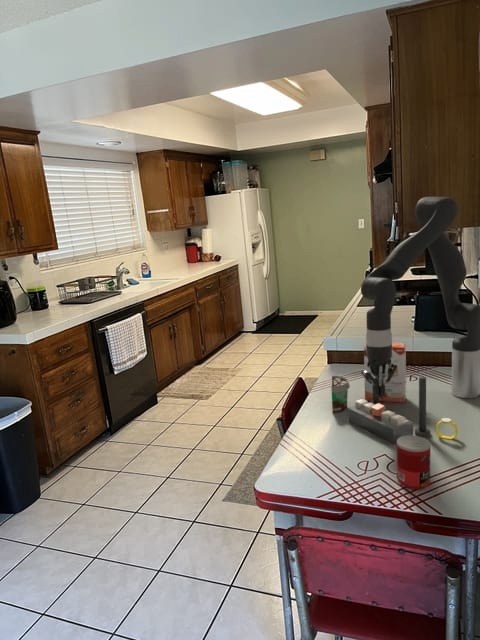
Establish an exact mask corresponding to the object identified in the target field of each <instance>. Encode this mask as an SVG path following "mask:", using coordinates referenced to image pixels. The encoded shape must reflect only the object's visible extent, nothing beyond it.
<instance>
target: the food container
mask: <svg viewBox="0 0 480 640" xmlns="http://www.w3.org/2000/svg"><path fill="white" fill-rule="evenodd" d="M350 386H351V385H350V383H349V380H348V379H347V378H346V377H343V376H339V375H331V386H330V388H331V405H332V406H331V407H332V413H333V414H336V413H341V412H345V411H346V410H348V392H349V391H348V390H349V389H350Z"/></svg>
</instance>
